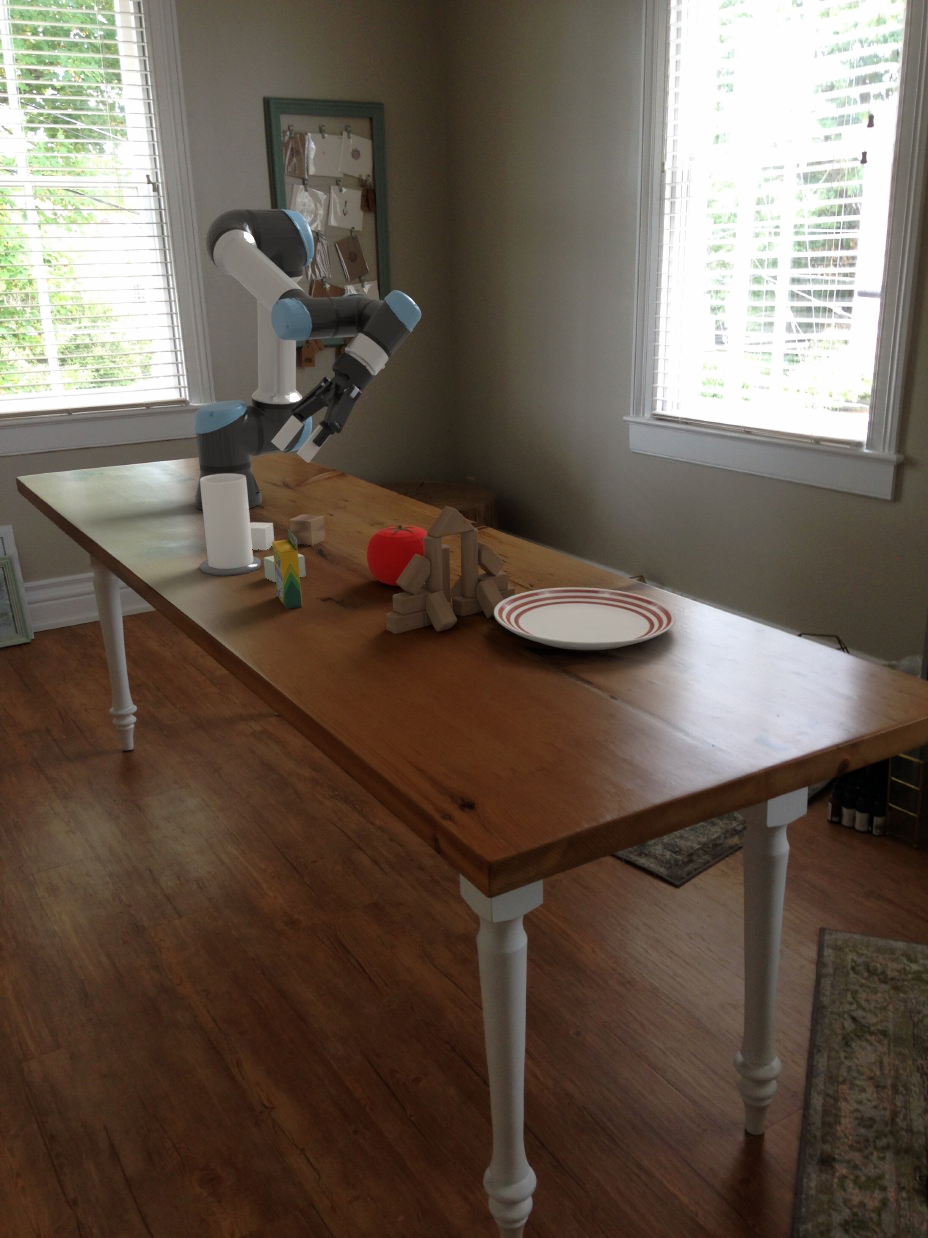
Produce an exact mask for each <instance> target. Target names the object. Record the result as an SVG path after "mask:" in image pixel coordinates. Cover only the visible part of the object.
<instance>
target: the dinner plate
mask: <svg viewBox="0 0 928 1238" xmlns="http://www.w3.org/2000/svg"><path fill="white" fill-rule="evenodd" d="M494 616H495V617H494V618H495V620H496V621H497V623H498V624H500V625H501V627H504V628H505V629H507V630H508V631H510V632H512V633H514V634H515V635H518V636H519V637H522V638H525V639H527V640H530V641H533V642H537V643H540V644H543V645H546V646H549V647H550V646H551V647H554V648H559V649H565V650H576V651H601V650H602V651H604V650H610V649H611V650H613V649H617V648H622V647H626V646H629V645H634V644H637V643H638V644H639V643H642V642H645V641H648V640H651V639H654V638H655V637H658V636H660V635H662V634H664V633H665V632H667V631H669V630H670V629H672V628H673V626H675V623H676V621H677V619H676V614H675V613H674V612H673V610H672V609H670V607H668V606H667V605H665V604H663V603H662V602H660V601H657V600H655V599H652V598H649V597H647V596H644V595H640V594H635V593H633V592H632V593H631V592H627V591H621V590H615V589H614V590H613V589H606V588H597V587H596V588H594V587H575V586H574V587H570V586H569V587H553V588H552V587H551V588H542V589H536V590H535V589H534V590H530V591H526V592H521V593H518V594H515V595H514V596H511V597H509V598H507V599H505V600H503V601H501V602H500V603H499V604H498V605H497V606H496V607H495V609H494Z"/></svg>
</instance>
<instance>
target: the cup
mask: <svg viewBox="0 0 928 1238" xmlns="http://www.w3.org/2000/svg"><path fill="white" fill-rule="evenodd" d="M200 487H201V497H202V507H203V510H202V512H203V513H202V515H203V526H204V534H205V536H204V537H205V544H206V546H205V547H206V554H207V555H206V556H207V560H208V565H209V566H210V567H213V568H218V569H233V568H240V567H244V566H247V565H250V564H251V563H253V556H254V553H253V552H254V550H252V540H251V528H250V523H251V520H250V519H251V518H250V508H249V505H248V494H247V483H246V476H245V475H241V474H215V475H209V476H205V477H202V478H201V479H200Z"/></svg>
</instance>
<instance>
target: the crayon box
mask: <svg viewBox="0 0 928 1238" xmlns="http://www.w3.org/2000/svg"><path fill="white" fill-rule="evenodd" d="M287 536H288V537H287V539H283V540H274V541H273V542H272V544H273V546H272V552H273V553H272V554H273V556H274V565H275V576H276V583H275V587H276V595H277V597H278V599H279V600H280V602H281V603H282V604H283V606H284V607H285V609H286V610H288V609H296V608H302V607H303V598H302V587H301V578H300V574H299V561H298V554H299V550H298V544H297V538H295V536H294V535H293V534H292V533H291V532H290V529H289V528H287ZM291 537H292V538H293V539H294V542H292V540H291Z"/></svg>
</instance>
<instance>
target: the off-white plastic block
mask: <svg viewBox="0 0 928 1238" xmlns="http://www.w3.org/2000/svg"><path fill="white" fill-rule="evenodd" d="M250 528H251V540H252V549H253V550H252V551H268V550H269V549H270V548H272V547H273V544H272V542H273V541H275V536H274V535H275V534H274V523H273V522H257V521H256V522H254V521H253V522H251V521H250ZM271 546H272V547H271ZM258 549H259V550H258ZM267 549H268V550H267Z"/></svg>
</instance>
